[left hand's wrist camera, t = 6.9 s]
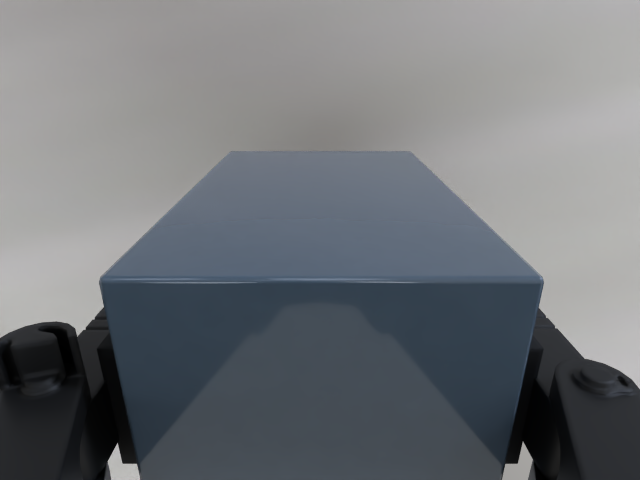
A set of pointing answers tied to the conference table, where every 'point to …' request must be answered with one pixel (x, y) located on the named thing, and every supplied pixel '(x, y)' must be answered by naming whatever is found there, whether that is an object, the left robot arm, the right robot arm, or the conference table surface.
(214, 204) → the block
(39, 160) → the conference table surface
